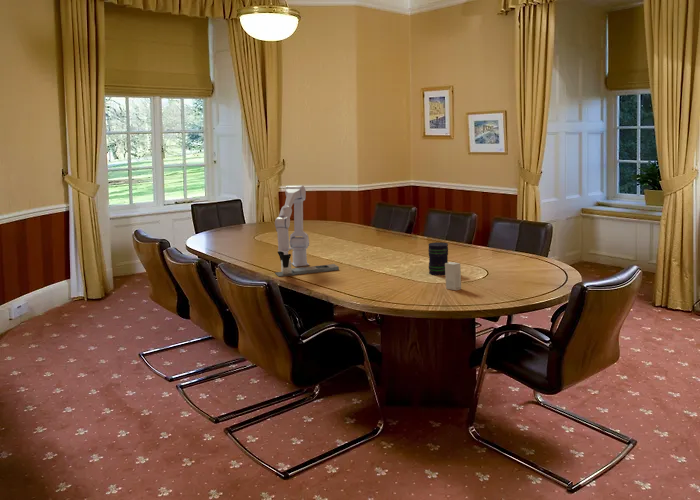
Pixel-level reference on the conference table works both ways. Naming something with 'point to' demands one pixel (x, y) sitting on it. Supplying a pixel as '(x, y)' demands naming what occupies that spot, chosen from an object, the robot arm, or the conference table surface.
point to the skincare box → (453, 276)
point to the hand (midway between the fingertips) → (284, 266)
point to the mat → (283, 274)
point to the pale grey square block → (286, 270)
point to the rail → (315, 269)
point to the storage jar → (437, 258)
